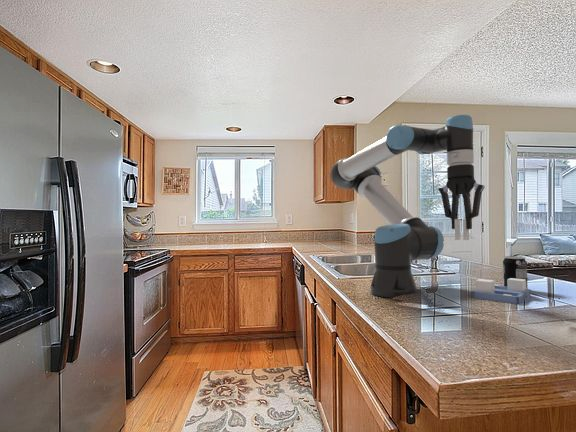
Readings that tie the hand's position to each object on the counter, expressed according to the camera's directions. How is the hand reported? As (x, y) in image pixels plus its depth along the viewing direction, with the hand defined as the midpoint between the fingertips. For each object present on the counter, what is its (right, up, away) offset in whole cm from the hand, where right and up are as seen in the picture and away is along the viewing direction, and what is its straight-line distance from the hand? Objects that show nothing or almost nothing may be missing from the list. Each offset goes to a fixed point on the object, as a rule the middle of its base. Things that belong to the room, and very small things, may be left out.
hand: (462, 239), depth 106 cm
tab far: (+14, -17, -4) cm, 23 cm away
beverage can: (+20, -18, +5) cm, 28 cm away
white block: (+5, -17, -5) cm, 18 cm away
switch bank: (+10, -18, -4) cm, 21 cm away
